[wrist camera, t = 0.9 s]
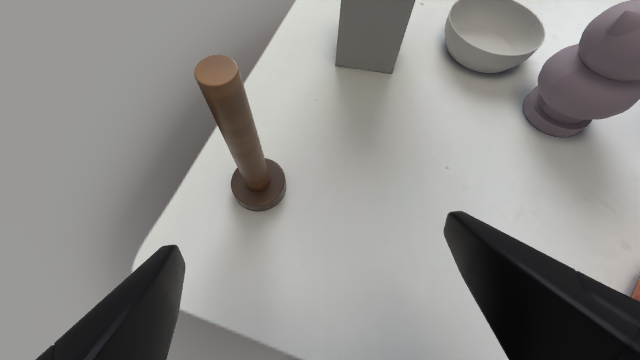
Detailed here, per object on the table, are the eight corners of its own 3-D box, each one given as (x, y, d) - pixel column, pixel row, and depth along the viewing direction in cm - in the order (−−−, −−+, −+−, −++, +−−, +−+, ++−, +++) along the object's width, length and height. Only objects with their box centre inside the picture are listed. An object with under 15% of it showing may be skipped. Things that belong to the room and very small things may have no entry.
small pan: (445, 78, 34) (460, 50, 30) (424, -14, 42) (434, -44, 38) (536, 81, 34) (561, 54, 31) (498, -11, 42) (514, -40, 39)
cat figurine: (580, 89, 34) (706, -21, 23) (604, 146, 30) (766, 47, 19) (506, 83, 34) (597, -29, 23) (521, 138, 30) (636, 37, 20)
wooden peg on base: (281, 214, 26) (252, 111, 13) (228, 207, 26) (151, 100, 14) (289, 167, 28) (272, 42, 16) (241, 162, 28) (185, 33, 16)
